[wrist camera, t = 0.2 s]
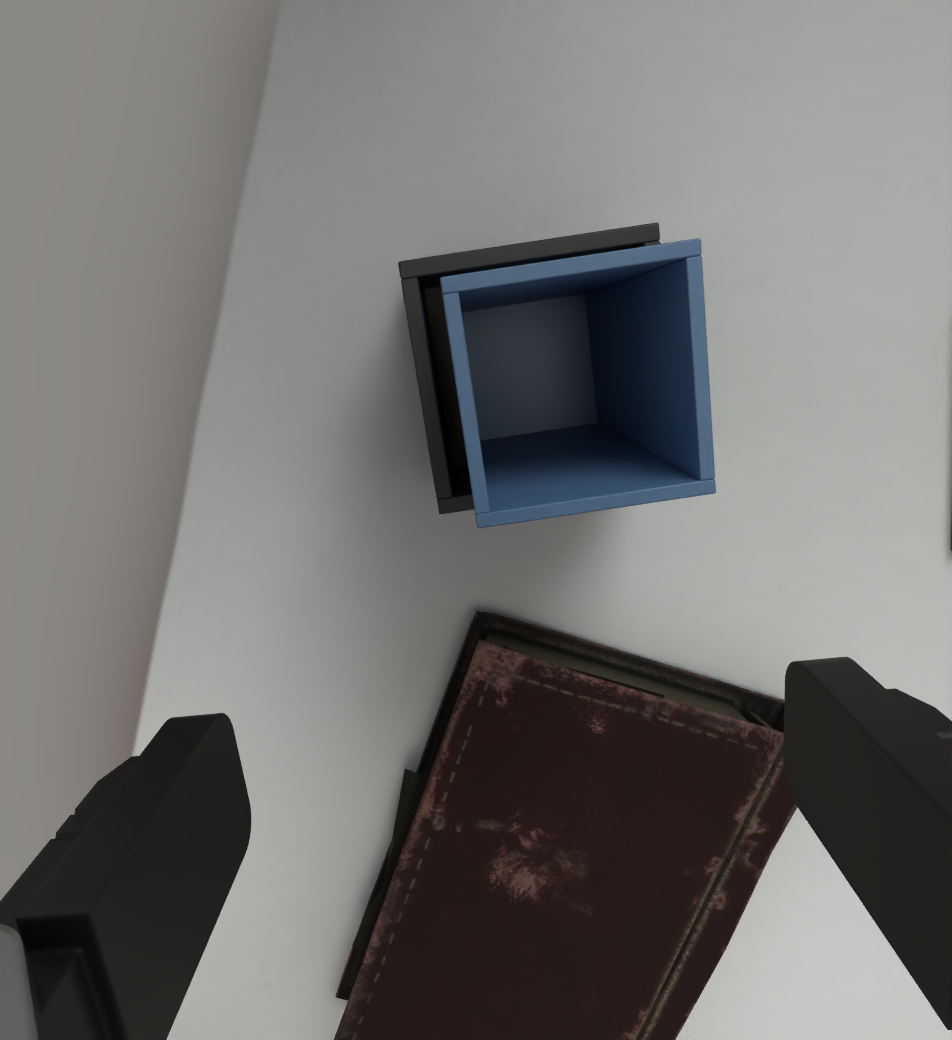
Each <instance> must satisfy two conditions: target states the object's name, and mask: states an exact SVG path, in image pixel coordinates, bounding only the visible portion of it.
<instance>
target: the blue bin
mask: <svg viewBox="0 0 952 1040" xmlns="http://www.w3.org/2000/svg"><path fill="white" fill-rule="evenodd" d="M700 255H701V240H700V239H699V238H698V239H691V240H684V241H678V242H671V243H664V244H658V245H651V246H645V247H638V248H631V249H625V250H618V251H611V252H605V253H598V254H591V255H585V256H578V257H572V258H565V259H558V260H552V261H545V262H538V263H532V264H525V265H518V266H512V267H505V268H499V269H492V270H485V271H479V272H472V273H465V274H459V275H452V276H446V277H441V278H440V282H441V289H442V294H443V302H444V309H445V315H446V322H447V329H448V335H449V342H450V349H451V355H452V362H453V369H454V375H455V382H456V389H457V395H458V402H459V409H460V415H461V422H462V429H463V435H464V442H465V449H466V455H467V462H468V468H469V475H470V482H471V488H472V495H473V502H474V508H475V515H476V522H477V527H478V528H485V527H492V526H498V525H505V524H512V523H519V522H525V521H532V520H539V519H545V518H552V517H559V516H566V515H572V514H579V513H586V512H592V511H599V510H606V509H613V508H619V507H626V506H633V505H639V504H646V503H653V502H659V501H666V500H673V499H680V498H686V497H693V496H700V495H706V494H713V493H715V492H716V487H715V479H714V478H715V470H714V454H713V437H712V420H711V404H710V387H709V370H708V354H707V337H706V320H705V303H704V287H703V270H702V257H701V256H700Z"/></svg>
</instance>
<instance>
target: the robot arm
mask: <svg viewBox="0 0 952 1040" xmlns="http://www.w3.org/2000/svg"><path fill="white" fill-rule="evenodd" d="M783 761H784V770H785V775H786V780H787V783H788V787H789V790H790V792H791V795H792V797H793V799H794V801H795V803H796V805H797V807H798V808H799V810H800V811H801V813H802V814H803V816H804V817H805V819H806V820H807V821H808V823H809V824H810V826H811V827H812V829H813V830H814V832H815V833H816V835H817V836H818V838H819V839H820V841H821V842H822V844H823V845H824V847H825V848H826V850H827V851H828V853H829V854H830V856H831V857H832V859H833V860H834V862H835V863H836V865H837V866H838V868H839V869H840V871H841V872H842V874H843V875H844V876H845V878H846V879H847V881H848V882H849V884H850V885H851V887H852V888H853V890H854V891H855V893H856V894H857V896H858V897H859V899H860V900H861V902H862V903H863V905H864V906H865V908H866V909H867V911H868V912H869V914H870V915H871V917H872V918H873V920H874V921H875V923H876V924H877V926H878V927H879V929H880V930H881V932H882V933H883V934H884V936H885V937H886V939H887V940H888V942H889V943H890V945H891V946H892V948H893V949H894V951H895V952H896V954H897V955H898V957H899V958H900V960H901V961H902V963H903V964H904V966H905V967H906V969H907V970H908V972H909V973H910V975H911V976H912V978H913V979H914V981H915V982H916V984H917V985H918V987H919V988H920V989H921V991H922V992H923V994H924V995H925V997H926V998H927V1000H928V1001H929V1003H930V1004H931V1006H932V1007H933V1009H934V1010H935V1012H936V1013H937V1015H938V1016H939V1018H940V1019H941V1021H942V1022H943V1024H944V1025H945V1027H946V1028H947V1030H952V721H951V720H949V719H948V718H947V717H946V716H945V715H943V714H942V713H941V712H940V711H939V710H937V709H936V708H935V707H933V706H931V705H929V704H927V703H925V702H922V701H920V700H918V699H916V698H914V697H912V696H910V695H908V694H906V693H904V692H901V691H899V690H897V689H885V688H884V687H883V686H882V685H881V684H880V683H879V682H877V681H876V680H875V679H874V678H873V677H872V676H871V675H869V674H868V673H867V672H866V671H865V670H864V669H863V668H862V667H860V666H859V665H858V664H857V663H856V662H855V661H854V660H852V659H851V658H848V657H838V658H827V659H816V660H805V661H794V662H791V663H790V664H789V666H788V667H787V670H786V675H785V706H784V748H783ZM250 832H251V808H250V802H249V797H248V793H247V788H246V784H245V779H244V775H243V770H242V766H241V761H240V757H239V752H238V748H237V743H236V739H235V734H234V730H233V726H232V723H231V721H230V719H229V717H228V716H227V715H226V714H224V713H217V714H206V715H195V716H185V717H174V718H170V719H168V720H167V721H166V722H165V723H164V725H163V726H162V727H161V728H160V730H159V731H158V732H157V734H156V735H155V736H154V738H153V739H152V740H151V742H150V743H149V744H148V745H147V747H146V748H145V749H144V751H143V752H142V753H141V755H140V756H134V757H130V758H129V759H128V760H126V761H125V762H124V763H122V764H121V765H120V766H118V767H117V768H115V769H114V770H113V771H111V772H110V773H109V774H107V775H106V776H105V777H103V778H102V779H100V780H99V781H98V782H97V783H96V784H95V785H94V787H93V788H92V789H91V790H90V792H89V793H88V794H87V795H86V797H85V798H84V799H83V800H82V801H81V803H80V804H79V805H78V806H77V808H76V809H75V815H70V816H69V817H68V819H67V820H66V821H65V823H64V824H63V825H62V826H61V827H60V828H59V830H58V831H57V832H56V838H55V839H51V840H50V841H49V842H48V843H47V845H46V846H45V847H44V848H43V849H42V851H41V852H40V853H39V855H38V856H37V857H36V858H35V859H34V860H33V862H32V863H31V864H30V865H29V867H28V868H27V869H26V870H25V872H24V873H23V874H22V875H21V876H20V878H19V879H18V880H17V881H16V883H15V884H14V885H13V886H12V888H11V889H10V890H9V891H8V892H7V894H6V895H5V896H4V897H3V899H2V900H1V901H0V1040H166V1039H167V1037H168V1034H169V1032H170V1030H171V1027H172V1025H173V1023H174V1020H175V1018H176V1016H177V1013H178V1011H179V1008H180V1006H181V1004H182V1001H183V999H184V997H185V994H186V992H187V990H188V987H189V985H190V983H191V980H192V978H193V976H194V973H195V971H196V969H197V966H198V964H199V962H200V959H201V957H202V954H203V952H204V950H205V947H206V945H207V943H208V940H209V938H210V936H211V933H212V931H213V929H214V926H215V924H216V922H217V919H218V917H219V915H220V912H221V910H222V907H223V905H224V903H225V900H226V898H227V896H228V893H229V891H230V889H231V886H232V884H233V882H234V879H235V877H236V875H237V872H238V870H239V868H240V865H241V863H242V861H243V858H244V856H245V853H246V851H247V847H248V844H249V839H250Z"/></svg>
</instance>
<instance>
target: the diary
mask: <svg viewBox="0 0 952 1040" xmlns="http://www.w3.org/2000/svg"><path fill="white" fill-rule="evenodd" d="M784 706H785V701H784V700H783V699H776V698H773V697H770V696H766V695H763V694H760V693H757V692H752V691H750V690H747V689H744V688H740V687H737V686H734V685H731V684H727V683H724V682H721V681H718V680H714V679H711V678H708V677H705V676H701V675H698V674H695V673H692V672H688V671H685V670H682V669H679V668H675V667H672V666H669V665H665V664H662V663H659V662H656V661H652V660H649V659H646V658H643V657H639V656H636V655H633V654H630V653H626V652H623V651H620V650H617V649H613V648H610V647H607V646H604V645H600V644H597V643H594V642H591V641H587V640H584V639H581V638H578V637H574V636H571V635H568V634H564V633H561V632H557V631H554V630H550V629H547V628H543V627H540V626H536V625H533V624H529V623H526V622H522V621H518V620H515V619H511V618H508V617H504V616H501V615H497V614H494V613H487V612H480V611H476V613H475V616H474V618H473V620H472V622H471V624H470V627H469V630H468V632H467V635H466V638H465V640H464V643H463V646H462V649H461V651H460V654H459V657H458V659H457V662H456V665H455V667H454V670H453V673H452V675H451V678H450V681H449V683H448V686H447V689H446V691H445V694H444V697H443V699H442V702H441V705H440V708H439V710H438V713H437V716H436V718H435V721H434V724H433V727H432V730H431V733H430V735H429V738H428V741H427V744H426V747H425V750H424V752H423V755H422V758H421V761H420V764H419V767H418V769H417V772H413V771H411V770H408V769H405V771H404V777H403V782H402V788H401V793H400V799H399V804H398V810H397V816H396V821H395V826H394V832H393V837H392V841H391V844H390V846H389V849H388V852H387V854H386V857H385V860H384V862H383V865H382V867H381V870H380V873H379V875H378V878H377V881H376V883H375V886H374V889H373V891H372V894H371V897H370V899H369V902H368V905H367V908H366V911H365V913H364V916H363V919H362V922H361V925H360V928H359V931H358V933H357V936H356V938H355V940H354V943H353V945H352V946H353V948H352V951H351V953H350V956H349V959H348V962H347V965H346V968H345V970H344V973H343V976H342V979H341V982H340V985H339V987H338V990H337V993H336V998H340V999H344V1000H348V1003H347V1005H346V1008H345V1011H344V1014H343V1016H342V1019H341V1022H340V1024H339V1027H338V1030H337V1033H336V1035H335V1038H334V1040H676V1038H677V1036H678V1034H679V1032H680V1030H681V1029H682V1027H683V1025H684V1023H685V1022H686V1020H687V1018H688V1016H689V1014H690V1013H691V1011H692V1009H693V1007H694V1005H695V1004H696V1002H697V1000H698V998H699V996H700V995H701V993H702V991H703V989H704V987H705V986H706V984H707V982H708V980H709V978H710V977H711V975H712V973H713V971H714V969H715V968H716V966H717V964H718V962H719V960H720V959H721V957H722V955H723V953H724V952H725V950H726V948H727V946H728V944H729V941H730V939H731V937H732V935H733V933H734V931H735V929H736V927H737V924H738V922H739V920H740V918H741V916H742V914H743V912H744V910H745V908H746V905H747V903H748V901H749V899H750V897H751V895H752V893H753V891H754V889H755V886H756V884H757V882H758V880H759V878H760V876H761V874H762V872H763V870H764V867H765V865H766V863H767V861H768V859H769V857H770V855H771V853H772V851H773V849H774V848H775V846H776V844H777V842H778V840H779V839H780V837H781V835H782V833H783V832H784V830H785V828H786V826H787V825H788V823H789V821H790V819H791V817H792V816H793V814H794V812H795V810H796V809H797V805H796V803H795V801H794V799H793V797H792V795H791V792H790V790H789V787H788V783H787V780H786V775H785V770H784V761H783V748H784Z"/></svg>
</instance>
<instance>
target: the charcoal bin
mask: <svg viewBox="0 0 952 1040" xmlns="http://www.w3.org/2000/svg"><path fill="white" fill-rule="evenodd" d="M659 240H660V233H659V224H658V223H651V224H645V225H638V226H631V227H625V228H618V229H611V230H605V231H598V232H592V233H585V234H578V235H572V236H565V237H558V238H552V239H545V240H539V241H532V242H525V243H519V244H512V245H505V246H499V247H492V248H485V249H479V250H472V251H466V252H459V253H452V254H446V255H439V256H432V257H426V258H419V259H413V260H406V261H400V262H399V263H398V265H399V271H400V277H401V279H402V280H401V284H402V290H403V296H404V302H405V308H406V314H407V320H408V326H409V333H410V339H411V345H412V351H413V357H414V363H415V369H416V375H417V381H418V387H419V394H420V400H421V406H422V412H423V418H424V424H425V430H426V436H427V442H428V449H429V455H430V461H431V467H432V473H433V479H434V485H435V491H436V497H437V504H438V510H439V514H446V513H452V512H459V511H466V510H473V509H475V508H474V502H473V495H472V488H471V482H470V475H469V468H468V462H467V455H466V449H465V442H464V435H463V429H462V422H461V415H460V409H459V402H458V395H457V389H456V382H455V375H454V369H453V362H452V355H451V349H450V342H449V335H448V329H447V322H446V315H445V309H444V302H443V294H442V289H441V282H440V278H441V277H446V276H452V275H459V274H465V273H472V272H479V271H485V270H492V269H499V268H505V267H512V266H518V265H525V264H532V263H538V262H545V261H552V260H558V259H565V258H572V257H578V256H585V255H591V254H598V253H605V252H611V251H618V250H625V249H631V248H638V247H645V246H651V245H658V244H660V241H659Z"/></svg>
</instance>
